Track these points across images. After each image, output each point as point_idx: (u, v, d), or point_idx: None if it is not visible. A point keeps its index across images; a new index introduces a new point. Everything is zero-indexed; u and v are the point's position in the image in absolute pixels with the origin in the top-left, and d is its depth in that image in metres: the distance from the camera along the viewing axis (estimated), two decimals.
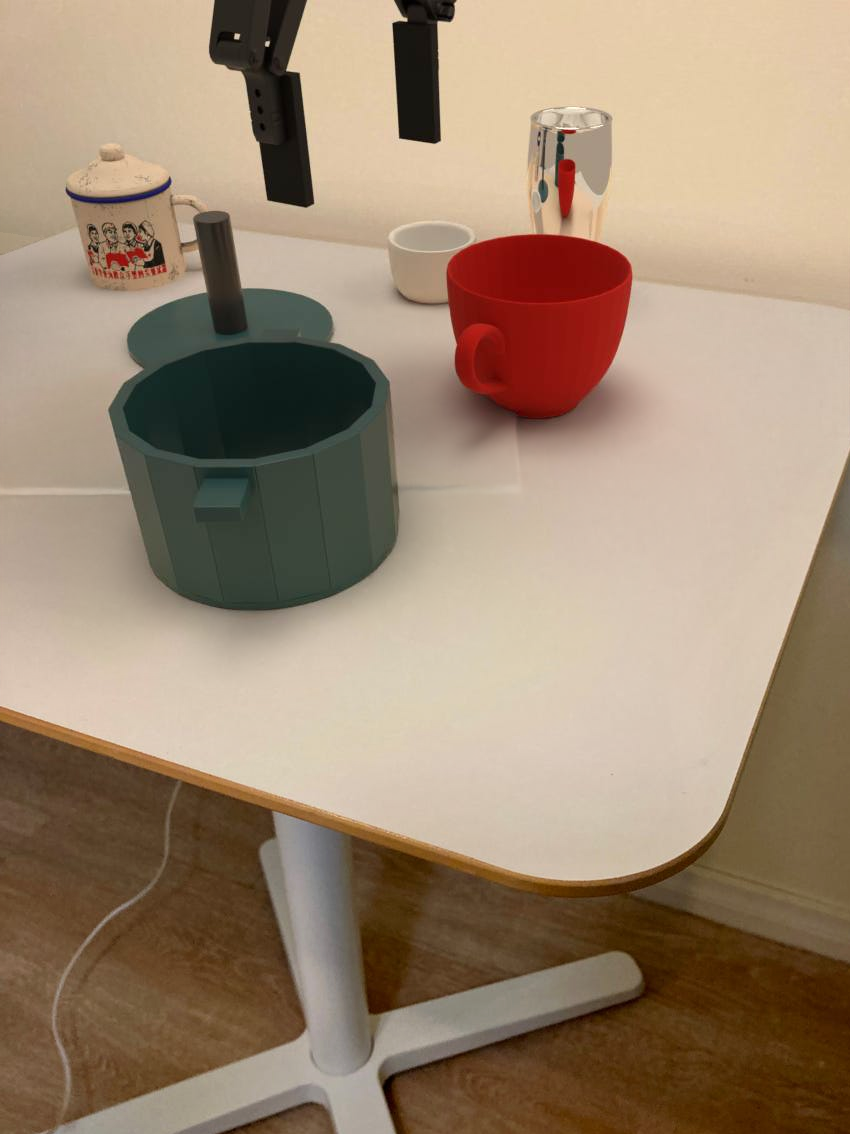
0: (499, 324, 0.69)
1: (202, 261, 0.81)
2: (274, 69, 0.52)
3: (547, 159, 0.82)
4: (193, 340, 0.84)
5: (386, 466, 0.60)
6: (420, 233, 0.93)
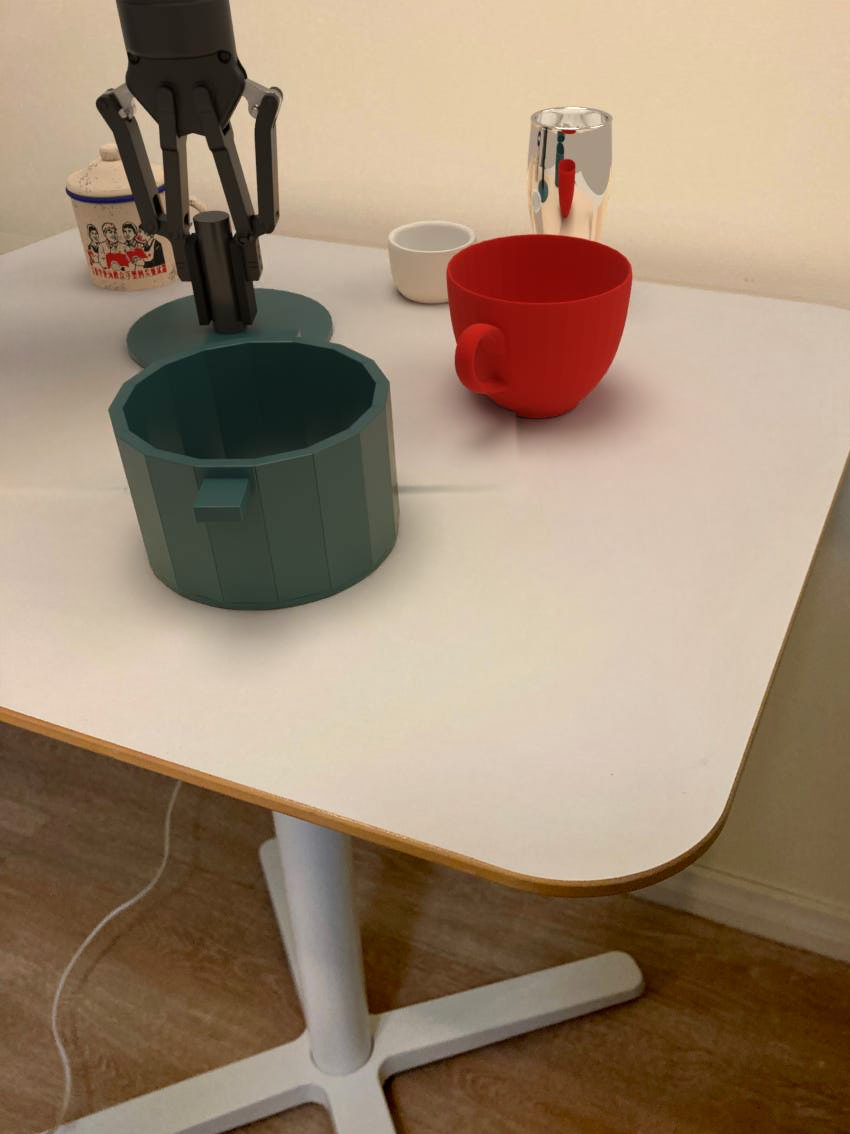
0: (499, 324, 0.69)
1: (202, 261, 0.81)
2: (174, 240, 0.80)
3: (547, 159, 0.82)
4: (193, 340, 0.84)
5: (386, 466, 0.60)
6: (420, 233, 0.93)
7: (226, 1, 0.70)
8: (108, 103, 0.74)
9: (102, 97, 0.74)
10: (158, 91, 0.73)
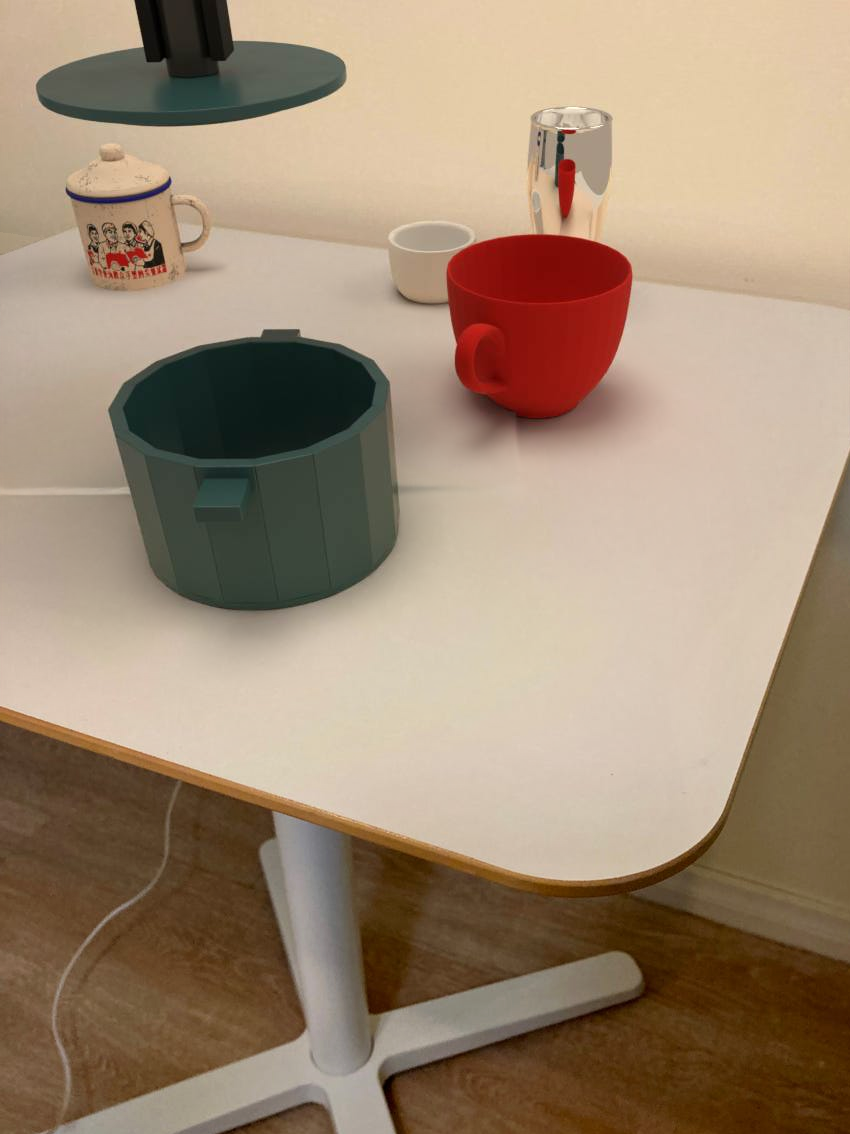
0: (499, 324, 0.69)
1: None
2: None
3: (547, 159, 0.82)
4: (136, 83, 0.56)
5: (386, 466, 0.60)
6: (420, 233, 0.93)
7: None
8: None
9: None
10: None
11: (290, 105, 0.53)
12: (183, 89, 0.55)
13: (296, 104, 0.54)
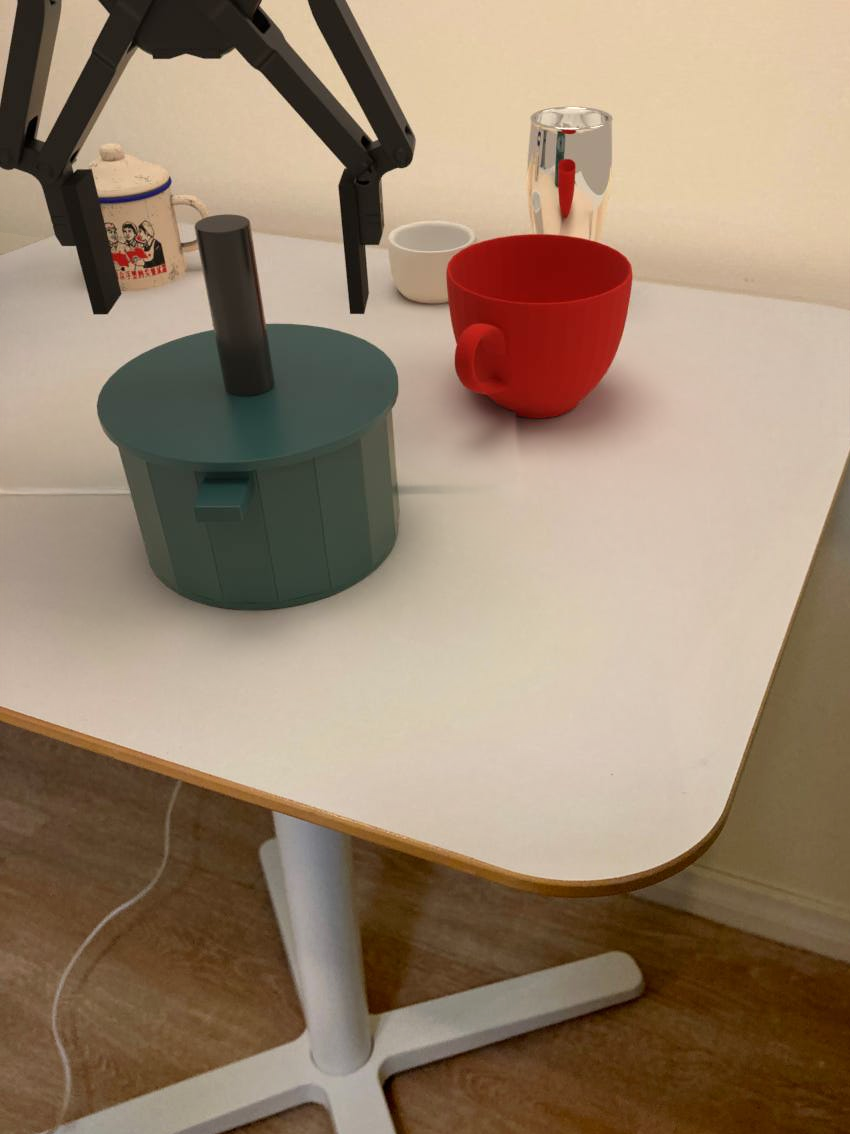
0: (499, 324, 0.69)
1: (209, 290, 0.54)
2: (40, 175, 0.51)
3: (547, 159, 0.82)
4: (195, 405, 0.57)
5: (386, 466, 0.60)
6: (420, 233, 0.93)
7: None
8: None
9: None
10: None
11: (346, 442, 0.55)
12: (241, 418, 0.56)
13: (352, 440, 0.55)
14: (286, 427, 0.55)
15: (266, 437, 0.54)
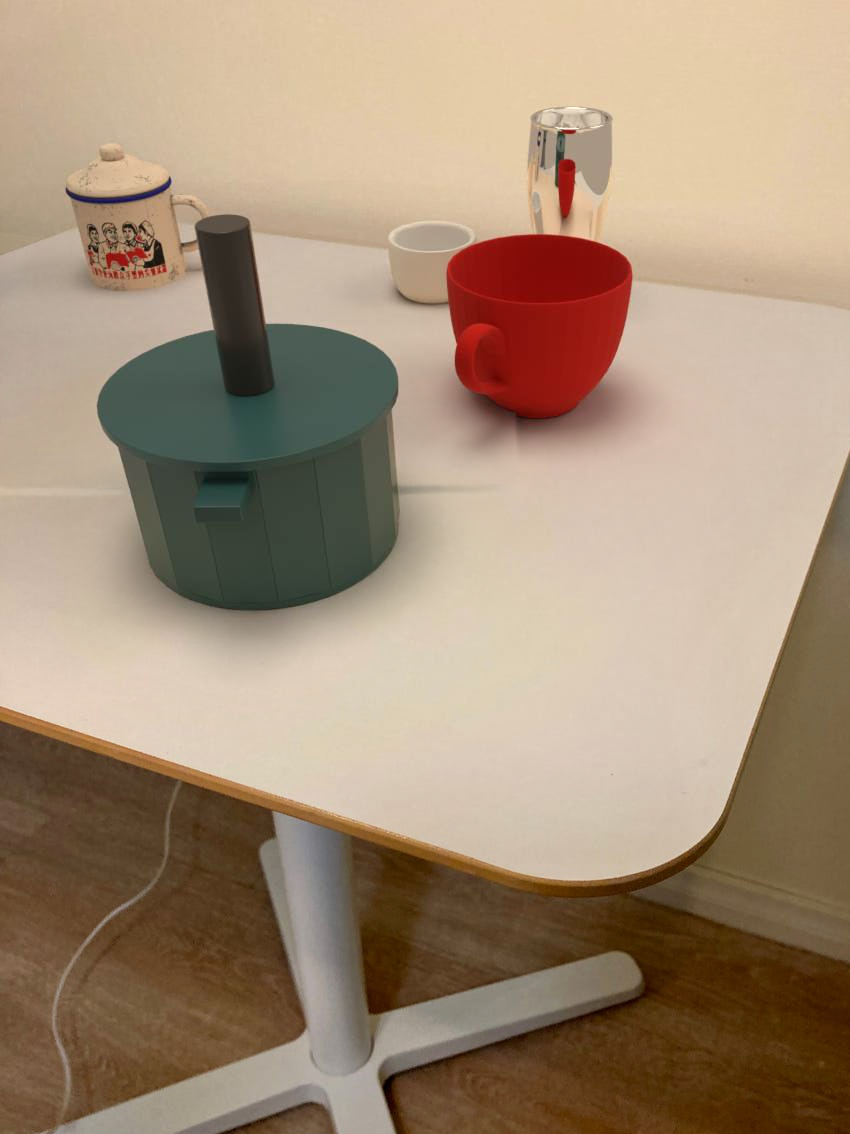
0: (499, 324, 0.69)
1: (209, 290, 0.54)
2: None
3: (547, 159, 0.82)
4: (195, 405, 0.57)
5: (386, 466, 0.60)
6: (420, 233, 0.93)
7: None
8: None
9: None
10: None
11: (346, 442, 0.55)
12: (241, 418, 0.56)
13: (352, 440, 0.55)
14: (286, 427, 0.55)
15: (266, 437, 0.54)
